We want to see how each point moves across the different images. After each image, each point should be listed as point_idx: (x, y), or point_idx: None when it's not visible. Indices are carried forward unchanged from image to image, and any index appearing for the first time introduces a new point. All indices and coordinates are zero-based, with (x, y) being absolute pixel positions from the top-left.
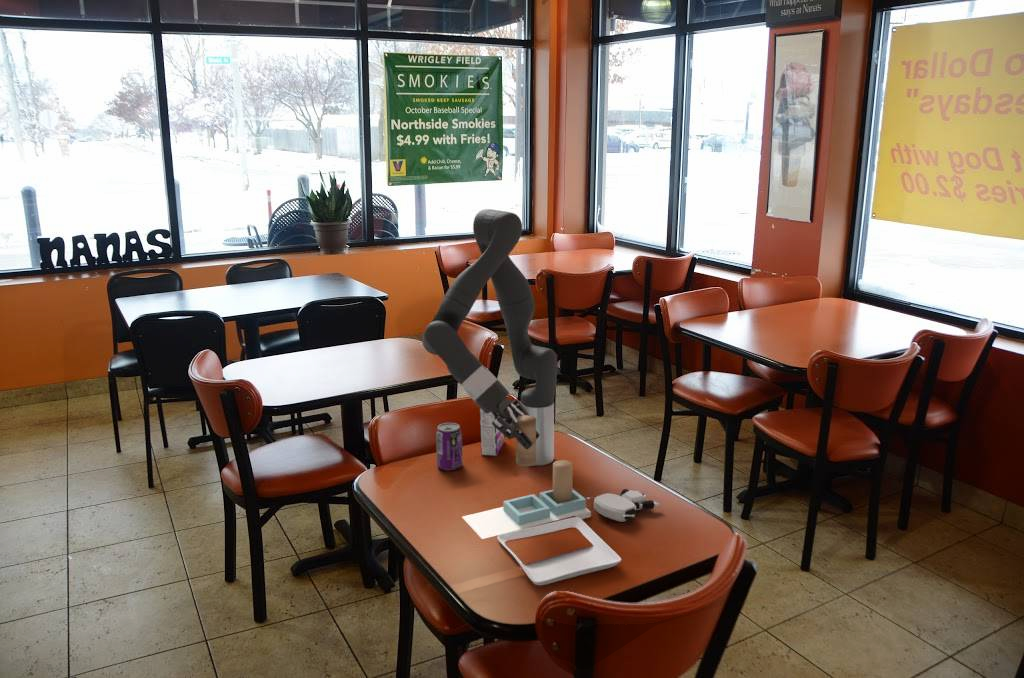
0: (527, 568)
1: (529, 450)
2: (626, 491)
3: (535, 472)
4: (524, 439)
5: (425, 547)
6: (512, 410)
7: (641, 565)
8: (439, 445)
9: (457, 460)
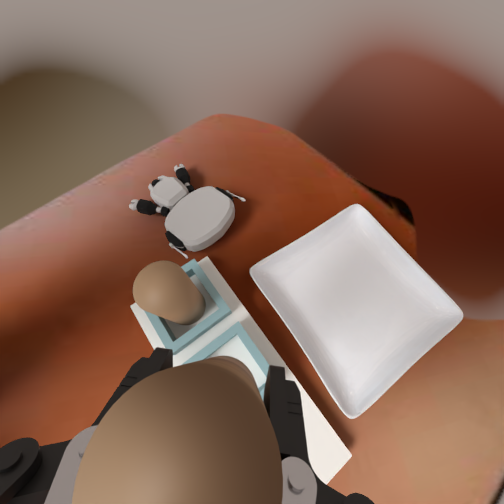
0: (409, 337)
1: (255, 382)
2: (147, 201)
3: (5, 393)
4: (299, 419)
5: None
6: None
7: (329, 191)
8: None
9: None
